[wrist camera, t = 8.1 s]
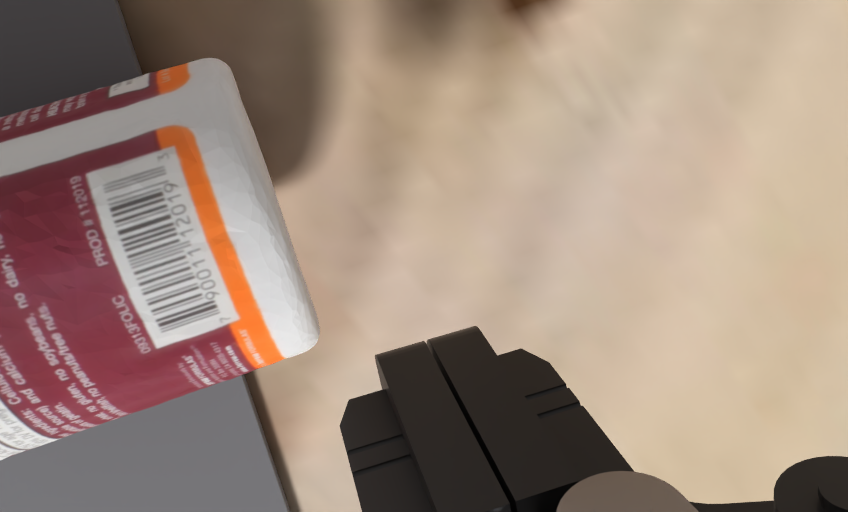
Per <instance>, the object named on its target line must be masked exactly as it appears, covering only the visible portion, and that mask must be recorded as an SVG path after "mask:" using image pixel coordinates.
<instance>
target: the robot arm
mask: <svg viewBox="0 0 848 512" xmlns="http://www.w3.org/2000/svg"><path fill="white" fill-rule="evenodd" d="M375 359H376V365H377V369H378V373H379V378H380V382H381V386H382V390H380V391H377V392H374V393H370V394H367V395H363V396H360V397H357V398H353V399H350V400H349V401H348V404H347V407H346V409H345V412H344V415H343V418H342V421H341V424H340V429H341V432H342V436H343V440H344V444H345V448H346V451H347V455H348V459H349V463H350V467H351V470H352V474H353V478H354V482H355V486H356V489H357V493H358V497H359V501H360V505H361V508H362V512H848V457H842V456H825V457H816V458H812V459H807V460H804V461H801V462H799V463H796V464H794V465H793V466H791V467H789V468H788V469H787V470H785V471H784V472H783V473H782V474H781V475H780V477H779V478H778V480H777V481H776V485H775V488H774V501H761V502H745V503H729V504H703V503H694V502H689V501H688V500H687V499H686V498H685V497H684V496H683V495H682V494H681V493H680V492H679V491H678V490H676V489H675V488H674V487H673V486H671V485H670V484H668V483H667V482H665V481H663V480H661V479H659V478H656V477H654V476H651V475H647V474H644V473H638V472H634V471H633V469H632V468H631V467H630V465H629V464H628V463H627V462H626V460H625V459H624V458H623V456H622V455H621V454H620V453H619V451H618V450H617V449H616V447H615V446H614V445H613V444H612V442H611V441H610V440H609V439H608V437H607V436H606V435H605V433H604V432H603V431H602V430H601V428H600V427H599V426H598V424H597V423H596V422H595V421H594V419H593V418H592V417H591V415H590V414H589V413H588V412H587V410H586V409H585V408H584V407H583V406H581V405H580V402H579V400H578V399H577V398H576V396H575V395H574V394H573V392H572V391H571V390H570V389H569V388H567V387H566V383H565V382H564V381H563V380H562V378H561V377H560V376H559V375H558V373H557V372H556V371H555V369H554V368H553V367H552V366H551V364H550V363H549V362H547V361H545V360H543V359H541V358H539V357H537V356H535V355H533V354H531V353H529V352H527V351H525V350H523V349H518V350H515V351H511V352H508V353H504V354H501V355H498V356H497V355H496V353H495V352H494V350H493V349H492V347H491V346H490V344H489V343H488V341H487V340H486V338H485V337H484V335H483V334H482V332H481V331H480V329H479V328H478V327H477V326H473V327H470V328H466V329H463V330H460V331H456V332H453V333H449V334H446V335H442V336H439V337H435V338H432V339H428V340H427V344H426V343H425V341H422V342H419V343H415V344H412V345H408V346H405V347H401V348H398V349H394V350H391V351H388V352H384V353H381V354H377V355H375Z"/></svg>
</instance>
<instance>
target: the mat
mask: <svg viewBox="0 0 848 512" xmlns="http://www.w3.org/2000/svg"><path fill="white" fill-rule="evenodd" d="M142 75H143V74H142V71H141V68H140V65H139V62H138V59H137V56H136V53H135V50H134V47H133V44H132V41H131V38H130V36H129V33H128V30H127V27H126V24H125V21H124V18H123V15H122V12H121V9H120V6H119V3H118V0H0V117H4V116H7V115H11V114H14V113H17V112H21V111H24V110H28V109H32V108H35V107H39V106H43V105H46V104H49V103H52V102H55V101H59V100H62V99H65V98H69V97H73V96H77V95H80V94H83V93H87V92H90V91H93V90H95V89H98V88H103V87H108V86H112V85H115V84H117V83H120V82H123V81H127V80H130V79H133V78H136V77H139V76H142ZM0 512H290V509H289V506H288V503H287V500H286V497H285V494H284V491H283V488H282V485H281V482H280V479H279V476H278V473H277V470H276V467H275V464H274V461H273V458H272V455H271V452H270V449H269V446H268V444H267V441H266V438H265V435H264V432H263V429H262V426H261V423H260V420H259V417H258V414H257V411H256V408H255V405H254V402H253V399H252V396H251V393H250V390H249V387H248V384H247V381H246V378H245V376H244V374H243V375H240V376H238V377H236V378H233V379H231V380H227V381H223V382H220V383H217V384H215V385H212V386H209V387H207V388H203V389H200V390H197V391H195V392H191V393H188V394H186V395H184V396H181V397H178V398H175V399H172V400H169V401H167V402H164V403H161V404H159V405H156V406H153V407H150V408H147V409H144V410H141V411H138V412H135V413H132V414H129V415H126V416H124V417H121V418H118V419H115V420H111V421H108V422H105V423H103V424H100V425H98V426H95V427H92V428H89V429H86V430H83V431H80V432H77V433H74V434H72V435H69V436H66V437H64V438H61V439H58V440H56V441H53V442H50V443H47V444H44V445H42V446H39V447H36V448H33V449H30V450H27V451H24V452H21V453H18V454H16V455H13V456H10V457H7V458H5V459H3V460H0Z"/></svg>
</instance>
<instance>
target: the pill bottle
mask: <svg viewBox="0 0 848 512" xmlns="http://www.w3.org/2000/svg"><path fill="white" fill-rule="evenodd" d="M319 334H320V328H319V322H318V318H317V315H316V311H315V308H314V305H313V302H312V300H311V297H310V294H309V291H308V288H307V285H306V282H305V280H304V277H303V275H302V272H301V269H300V266H299V263H298V260H297V257H296V254H295V251H294V248H293V245H292V242H291V239H290V236H289V233H288V230H287V227H286V224H285V221H284V218H283V215H282V212H281V209H280V206H279V203H278V200H277V197H276V193H275V190H274V187H273V184H272V181H271V178H270V175H269V172H268V169H267V166H266V163H265V160H264V158H263V155H262V152H261V150H260V147H259V144H258V141H257V138H256V136H255V133H254V130H253V128H252V126H251V123H250V121H249V118H248V115H247V113H246V110H245V108H244V106H243V103H242V100H241V97H240V94H239V90H238V87H237V84H236V81H235V79H234V76H233V73H232V71H231V69H230V67H229V66H228V65H227V64H226V63H225V62H223V61H221V60H219V59H217V58H204V59H199V60H195V61H192V62H189V63H185V64H182V65H178V66H174V67H170V68H167V69H163V70H159V71H156V72H152V73H147V74H145V75H142V76H139V77H136V78H133V79H130V80H127V81H123V82H120V83H117V84H115V85H112V86H108V87H103V88H98V89H95V90H93V91H90V92H87V93H83V94H80V95H77V96H73V97H69V98H65V99H62V100H59V101H55V102H52V103H49V104H46V105H43V106H39V107H35V108H32V109H28V110H24V111H21V112H17V113H14V114H11V115H7V116H4V117H0V460H3V459H5V458H7V457H10V456H13V455H16V454H18V453H21V452H24V451H27V450H30V449H33V448H36V447H39V446H42V445H44V444H47V443H50V442H53V441H56V440H58V439H61V438H64V437H66V436H69V435H72V434H74V433H77V432H80V431H83V430H86V429H89V428H92V427H95V426H98V425H100V424H103V423H105V422H108V421H111V420H115V419H118V418H121V417H124V416H126V415H129V414H132V413H135V412H138V411H141V410H144V409H147V408H150V407H153V406H156V405H159V404H161V403H164V402H167V401H169V400H172V399H175V398H178V397H181V396H184V395H186V394H188V393H191V392H195V391H197V390H200V389H203V388H207V387H209V386H212V385H215V384H217V383H220V382H223V381H227V380H231V379H233V378H236V377H238V376H240V375H243V374H246V373H249V372H251V371H253V370H256V369H258V368H261V367H264V366H267V365H270V364H273V363H276V362H278V361H280V360H282V359H286V358H289V357H293V356H296V355H298V354H301V353H304V352H306V351H308V350H309V349H311V348H312V347H313V346H314V345H315V344H316V343H317V341H318V338H319Z"/></svg>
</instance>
